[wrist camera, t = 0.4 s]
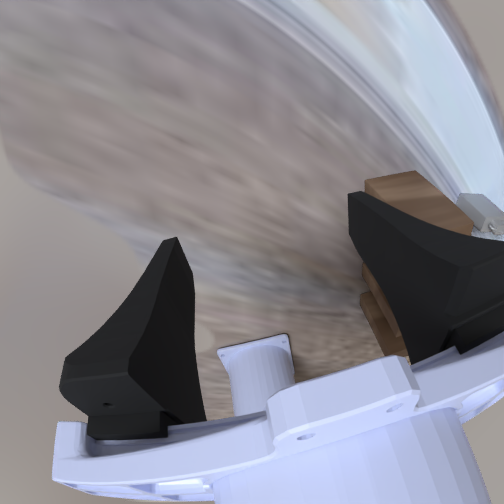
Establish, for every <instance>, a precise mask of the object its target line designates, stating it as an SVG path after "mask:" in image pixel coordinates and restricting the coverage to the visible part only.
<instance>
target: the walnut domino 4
mask: <svg viewBox="0 0 504 504" xmlns="http://www.w3.org/2000/svg"><path fill="white" fill-rule="evenodd" d="M365 193H367V194H369V195H371V196H373V197H375V198H377V199H379V200H381V201H383V202H385V203H387V204H389V205H391V206H393V207H395V208H397V209H399V210H401V211H403V212H405V213H407V214H409V215H411V216H414V217H416V218H418V219H420V220H423V221H425V222H428V223H430V224H433V225H436V226H438V227H441V228H444V229H447V230H451V231H454V232H457V233H461V234H465V235H469V236H471V232H472V229H473V225H474V222H473V221H472V220H471V219H470V218H469V217H468V216H467V215H466V214H465V213H464V212H463V211H462V210H461V209H460V208H459V207H457V206H456V205H455V204H454V203H453V202H452V201H451V200H450V199H449V198H447V197H446V196H445V195H444V194H443V193H442V192H441V191H439V190H438V189H437V188H436V187H435V186H434V185H432V184H431V183H430V182H429V181H428V180H426V179H425V178H424V177H423V176H422V175H420V174H419V173H418V172H417V171H415V170H414V171H409V172H404V173H398V174H393V175H388V176H383V177H378V178H373V179H368V180H365Z"/></svg>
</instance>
